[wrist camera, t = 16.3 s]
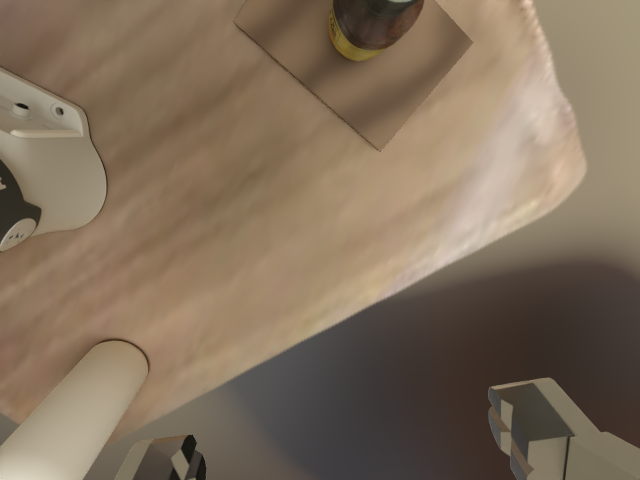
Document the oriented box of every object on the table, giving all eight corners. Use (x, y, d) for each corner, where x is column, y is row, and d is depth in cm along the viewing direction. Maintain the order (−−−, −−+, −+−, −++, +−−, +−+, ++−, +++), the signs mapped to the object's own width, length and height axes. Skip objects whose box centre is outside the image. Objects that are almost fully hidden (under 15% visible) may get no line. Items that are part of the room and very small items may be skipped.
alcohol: (103, 387, 52) (-141, 708, 24) (81, 341, 49) (-230, 650, 21) (158, 381, 52) (-25, 699, 24) (139, 334, 49) (-96, 637, 21)
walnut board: (236, 25, 35) (233, 21, 34) (322, -112, 31) (322, -122, 30) (378, 150, 40) (380, 151, 38) (467, 45, 36) (473, 42, 34)
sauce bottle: (345, -22, 32) (384, -194, 14) (401, 11, 33) (508, -109, 15) (316, 49, 35) (317, -20, 16) (370, 77, 36) (430, 44, 17)
